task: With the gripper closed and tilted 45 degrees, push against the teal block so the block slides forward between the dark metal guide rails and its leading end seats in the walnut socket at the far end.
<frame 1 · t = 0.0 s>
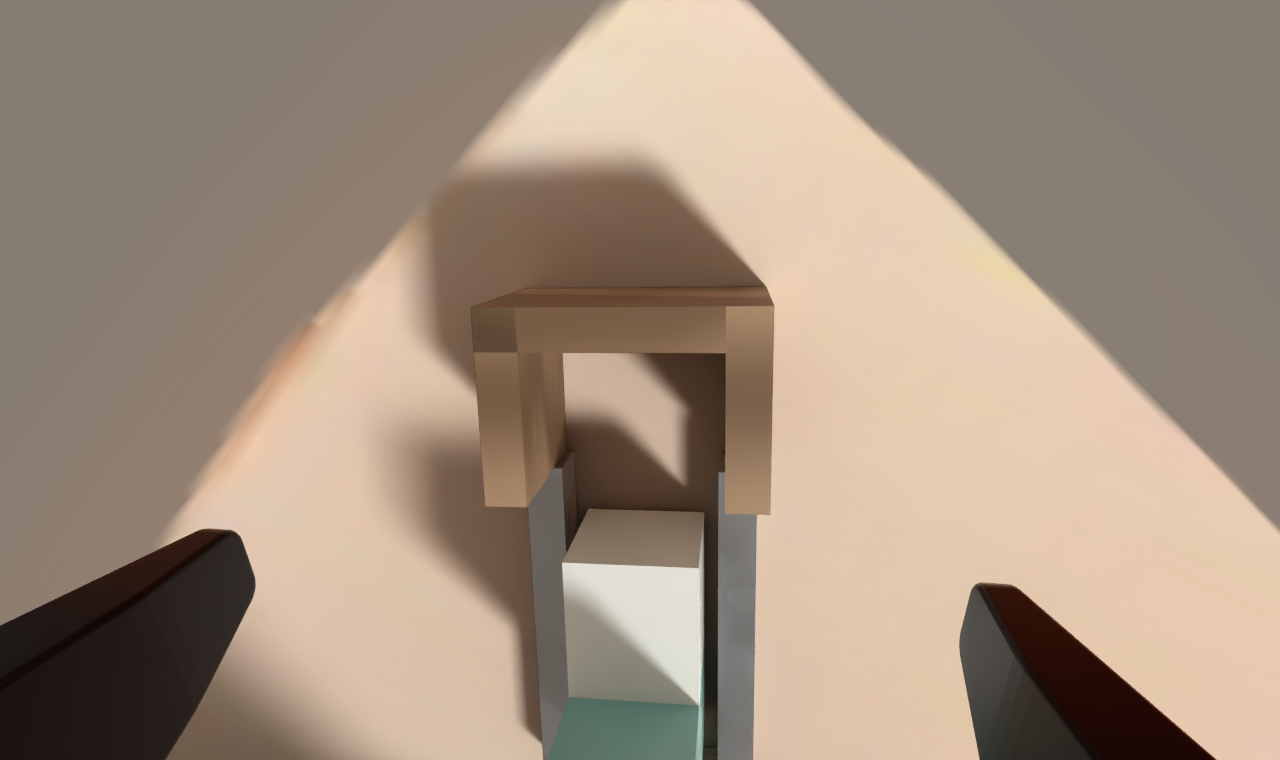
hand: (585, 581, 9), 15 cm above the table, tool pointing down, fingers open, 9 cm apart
rails: (649, 636, 26), on the table
socket: (633, 389, 22), on the table
teal block: (630, 697, 21), point 5 cm above the table, slide at 0.0 cm
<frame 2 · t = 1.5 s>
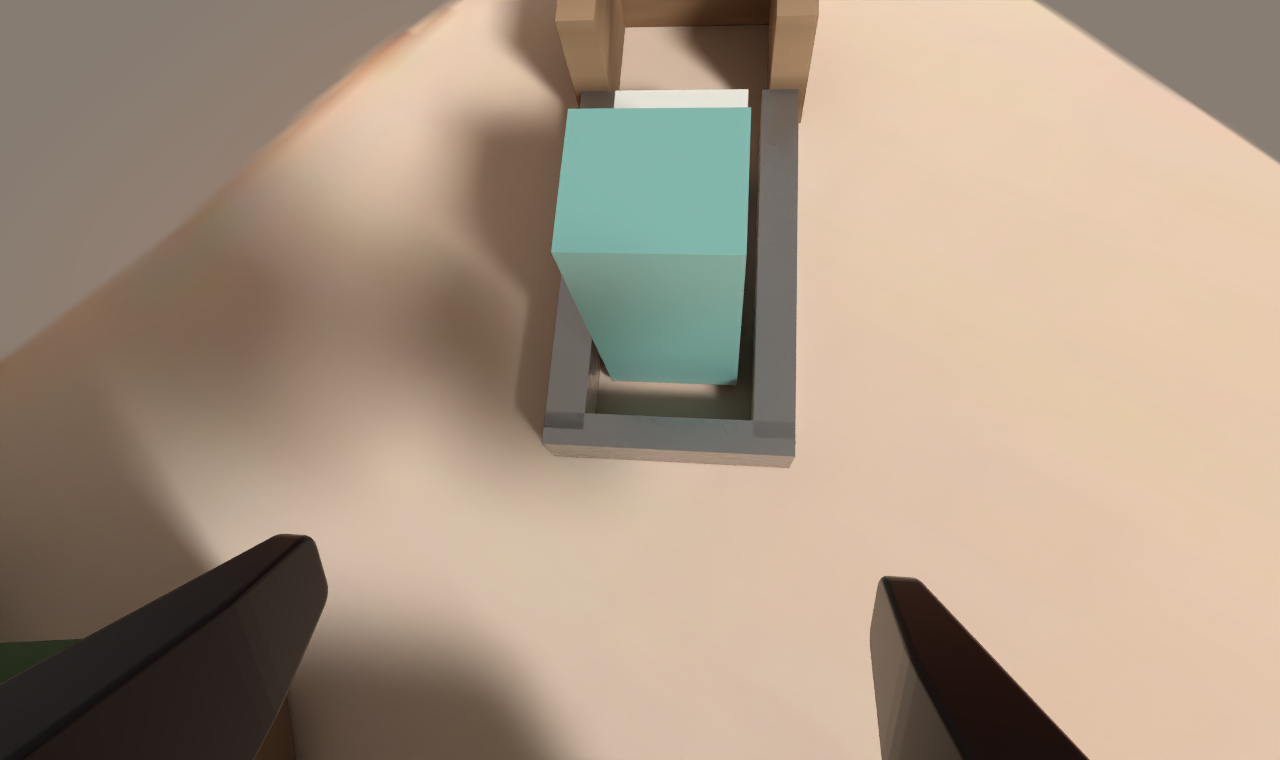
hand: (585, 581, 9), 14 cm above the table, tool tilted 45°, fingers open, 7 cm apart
rails: (679, 300, 24), on the table
socket: (691, 8, 25), on the table
teal block: (672, 198, 20), point 5 cm above the table, slide at 0.0 cm
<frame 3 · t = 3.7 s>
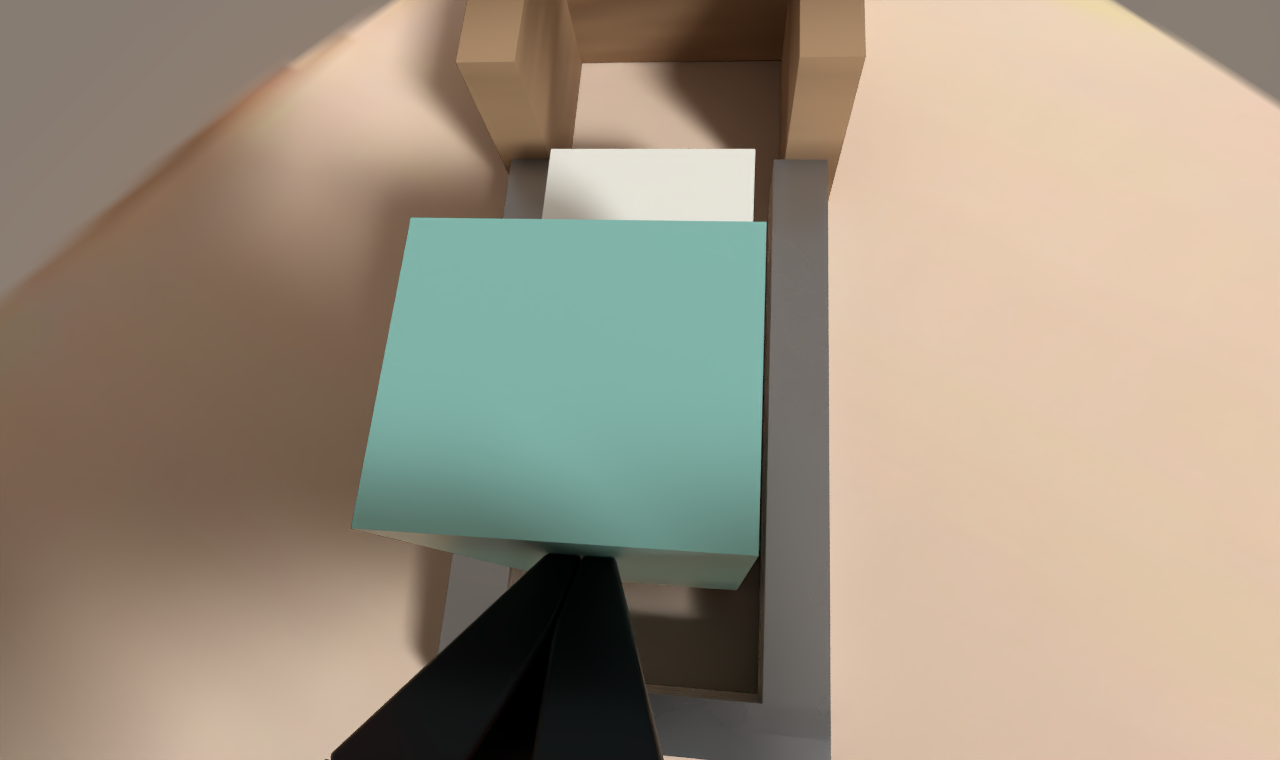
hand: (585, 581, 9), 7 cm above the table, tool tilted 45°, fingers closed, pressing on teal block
rails: (651, 470, 17), on the table
socket: (670, 39, 17), on the table
teal block: (632, 330, 12), point 5 cm above the table, slide at 0.5 cm, touching gripper
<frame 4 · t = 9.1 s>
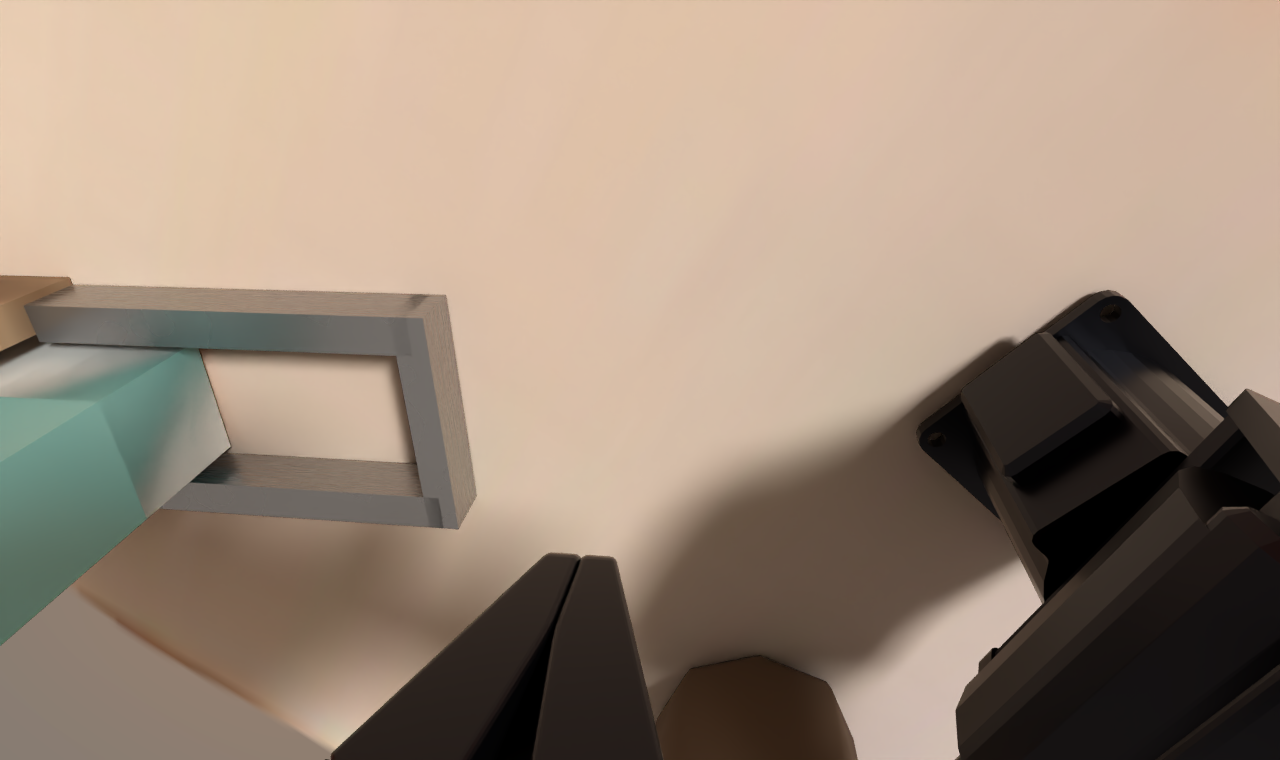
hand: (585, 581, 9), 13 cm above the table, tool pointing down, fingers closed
rails: (303, 395, 24), on the table
beer bottle: (753, 715, 29), on the table
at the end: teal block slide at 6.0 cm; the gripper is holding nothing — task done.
